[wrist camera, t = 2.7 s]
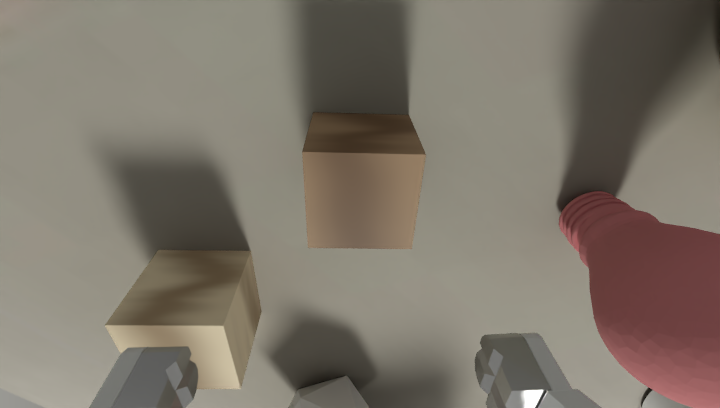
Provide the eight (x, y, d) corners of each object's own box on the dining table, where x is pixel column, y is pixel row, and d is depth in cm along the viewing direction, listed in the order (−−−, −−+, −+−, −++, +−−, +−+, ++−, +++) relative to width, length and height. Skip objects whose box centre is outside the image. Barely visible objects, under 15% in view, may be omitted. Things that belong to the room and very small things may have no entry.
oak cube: (251, 250, 23) (223, 325, 18) (261, 310, 26) (240, 389, 21) (158, 249, 23) (104, 325, 18) (181, 310, 26) (140, 389, 21)
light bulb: (554, 146, 19) (774, 327, 9) (668, 162, 20) (989, 346, 10) (506, 244, 23) (626, 447, 13) (604, 254, 24) (789, 454, 14)
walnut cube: (408, 114, 18) (426, 154, 14) (399, 195, 21) (411, 249, 17) (313, 111, 18) (302, 151, 14) (316, 193, 21) (308, 247, 17)
